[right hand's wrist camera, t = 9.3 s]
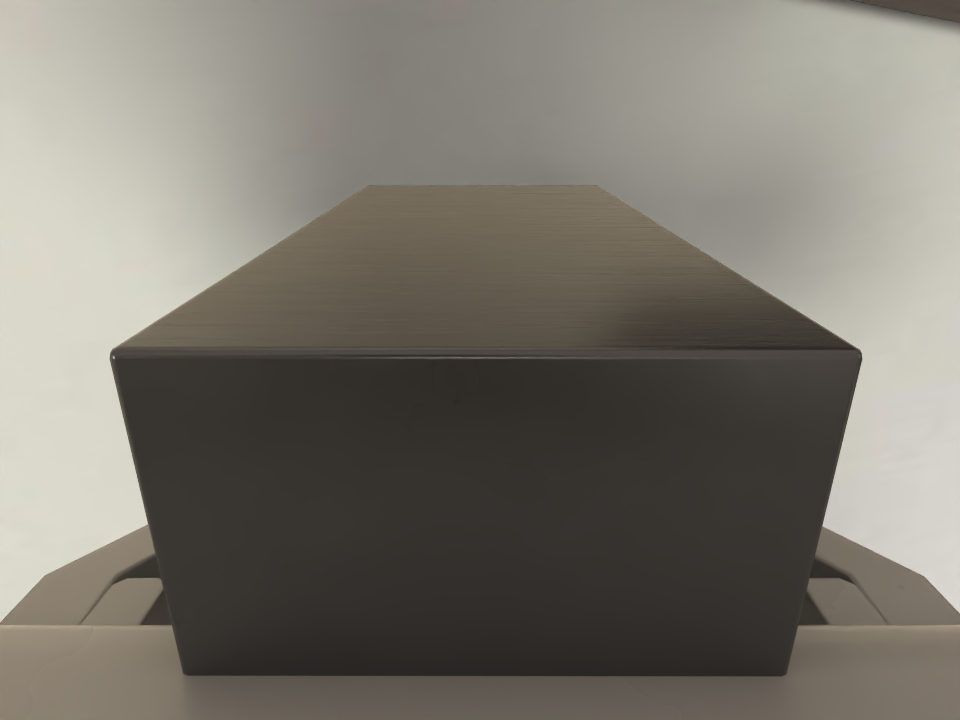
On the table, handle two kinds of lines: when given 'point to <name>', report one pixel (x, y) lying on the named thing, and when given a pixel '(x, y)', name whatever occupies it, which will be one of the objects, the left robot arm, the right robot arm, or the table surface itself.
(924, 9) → the toy
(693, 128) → the table surface
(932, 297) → the table surface
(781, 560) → the bar
